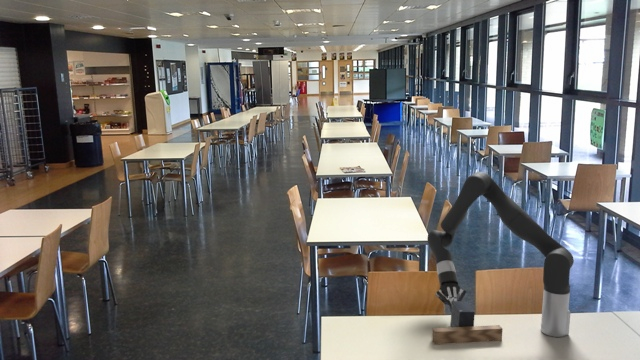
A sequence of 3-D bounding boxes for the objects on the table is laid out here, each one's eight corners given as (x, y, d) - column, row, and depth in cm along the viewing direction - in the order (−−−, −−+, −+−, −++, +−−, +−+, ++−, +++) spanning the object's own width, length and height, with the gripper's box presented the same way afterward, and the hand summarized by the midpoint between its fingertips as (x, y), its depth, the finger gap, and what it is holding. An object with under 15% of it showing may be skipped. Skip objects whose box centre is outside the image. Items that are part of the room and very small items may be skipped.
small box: (474, 337, 210) (475, 311, 208) (457, 337, 209) (458, 311, 208) (465, 324, 220) (466, 300, 218) (449, 325, 220) (450, 300, 218)
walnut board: (498, 337, 210) (499, 325, 209) (501, 340, 207) (502, 328, 206) (432, 340, 207) (432, 328, 206) (434, 344, 204) (434, 331, 203)
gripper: (433, 270, 226) (441, 311, 216) (464, 269, 227) (473, 309, 217) (429, 278, 232) (436, 317, 222) (459, 277, 233) (468, 316, 223)
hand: (455, 313), depth 220 cm, fingers closed
